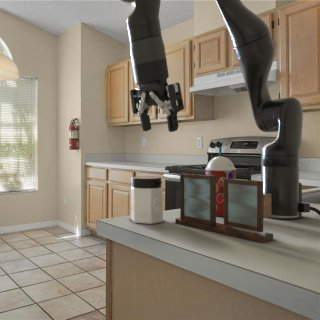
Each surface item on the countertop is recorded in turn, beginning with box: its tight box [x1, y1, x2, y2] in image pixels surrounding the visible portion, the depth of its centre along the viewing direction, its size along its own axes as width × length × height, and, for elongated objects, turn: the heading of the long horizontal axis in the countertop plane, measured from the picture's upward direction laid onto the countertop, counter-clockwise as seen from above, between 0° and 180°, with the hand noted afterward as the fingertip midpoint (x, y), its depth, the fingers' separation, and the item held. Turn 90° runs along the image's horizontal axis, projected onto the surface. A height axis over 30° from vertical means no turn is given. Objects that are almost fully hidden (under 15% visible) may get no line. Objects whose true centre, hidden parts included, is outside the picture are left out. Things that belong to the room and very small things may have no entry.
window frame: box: [175, 173, 274, 244], centre depth 79 cm, size 23×4×13 cm, turn 33°
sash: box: [223, 178, 271, 232], centre depth 76 cm, size 9×4×11 cm, turn 33°
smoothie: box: [204, 146, 237, 217], centre depth 97 cm, size 8×8×20 cm
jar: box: [130, 175, 164, 225], centre depth 91 cm, size 9×8×12 cm
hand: (159, 130), depth 78 cm, fingers open, 8 cm apart
